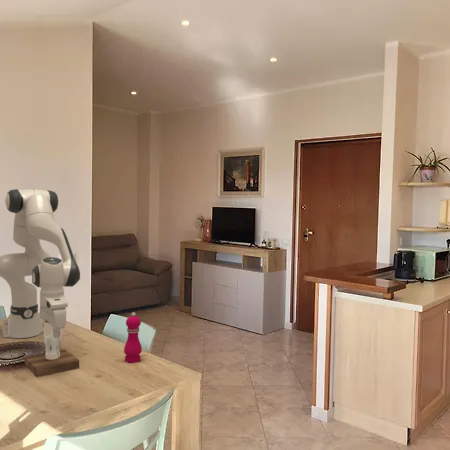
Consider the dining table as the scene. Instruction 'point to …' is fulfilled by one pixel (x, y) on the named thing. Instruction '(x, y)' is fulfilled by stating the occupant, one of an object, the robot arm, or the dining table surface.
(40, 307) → the robot arm
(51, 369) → the walnut base
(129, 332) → the pepper mill
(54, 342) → the beer glass
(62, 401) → the dining table surface
